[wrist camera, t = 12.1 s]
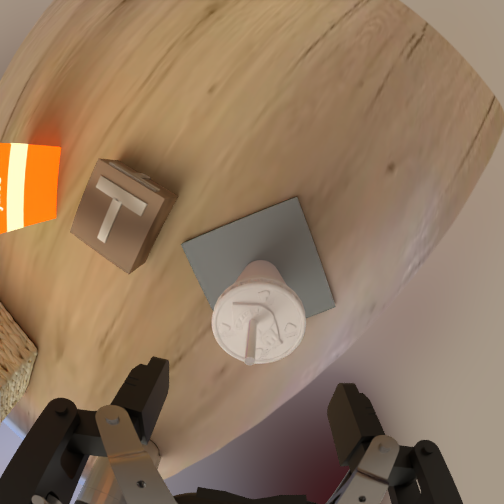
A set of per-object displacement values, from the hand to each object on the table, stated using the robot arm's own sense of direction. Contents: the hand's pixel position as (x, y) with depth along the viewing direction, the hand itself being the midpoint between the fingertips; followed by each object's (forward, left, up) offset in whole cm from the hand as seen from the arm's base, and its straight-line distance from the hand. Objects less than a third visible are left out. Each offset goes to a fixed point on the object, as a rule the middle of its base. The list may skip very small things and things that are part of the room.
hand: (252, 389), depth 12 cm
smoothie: (0, 0, -16) cm, 16 cm away
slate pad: (0, 0, -17) cm, 17 cm away
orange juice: (+21, +21, -17) cm, 34 cm away
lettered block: (+11, +10, -17) cm, 22 cm away
